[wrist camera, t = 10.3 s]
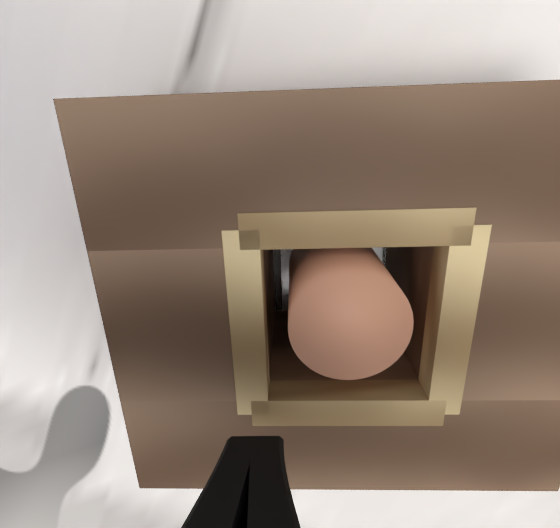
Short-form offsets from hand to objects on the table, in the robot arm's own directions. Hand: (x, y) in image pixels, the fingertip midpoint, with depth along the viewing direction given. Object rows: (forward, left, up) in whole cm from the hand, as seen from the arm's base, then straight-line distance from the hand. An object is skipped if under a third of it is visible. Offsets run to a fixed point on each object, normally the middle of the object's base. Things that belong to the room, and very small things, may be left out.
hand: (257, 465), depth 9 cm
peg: (-2, +3, -9) cm, 10 cm away
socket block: (-2, +3, -10) cm, 11 cm away
